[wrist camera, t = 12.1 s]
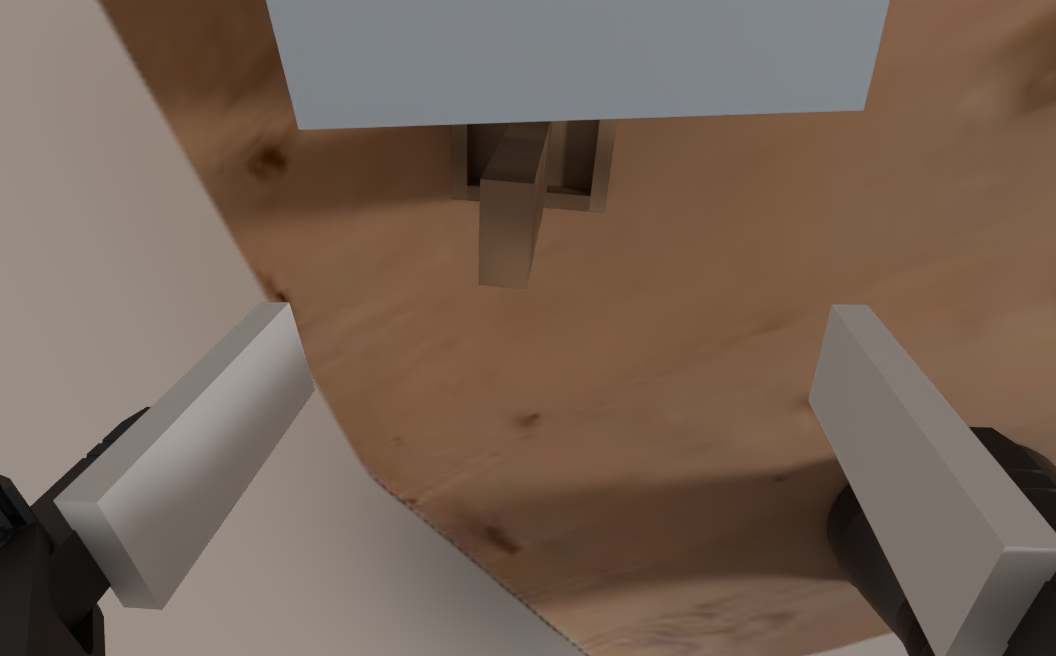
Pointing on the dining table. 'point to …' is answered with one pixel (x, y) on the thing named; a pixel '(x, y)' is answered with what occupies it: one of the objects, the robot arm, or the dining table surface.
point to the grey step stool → (571, 59)
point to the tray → (527, 184)
